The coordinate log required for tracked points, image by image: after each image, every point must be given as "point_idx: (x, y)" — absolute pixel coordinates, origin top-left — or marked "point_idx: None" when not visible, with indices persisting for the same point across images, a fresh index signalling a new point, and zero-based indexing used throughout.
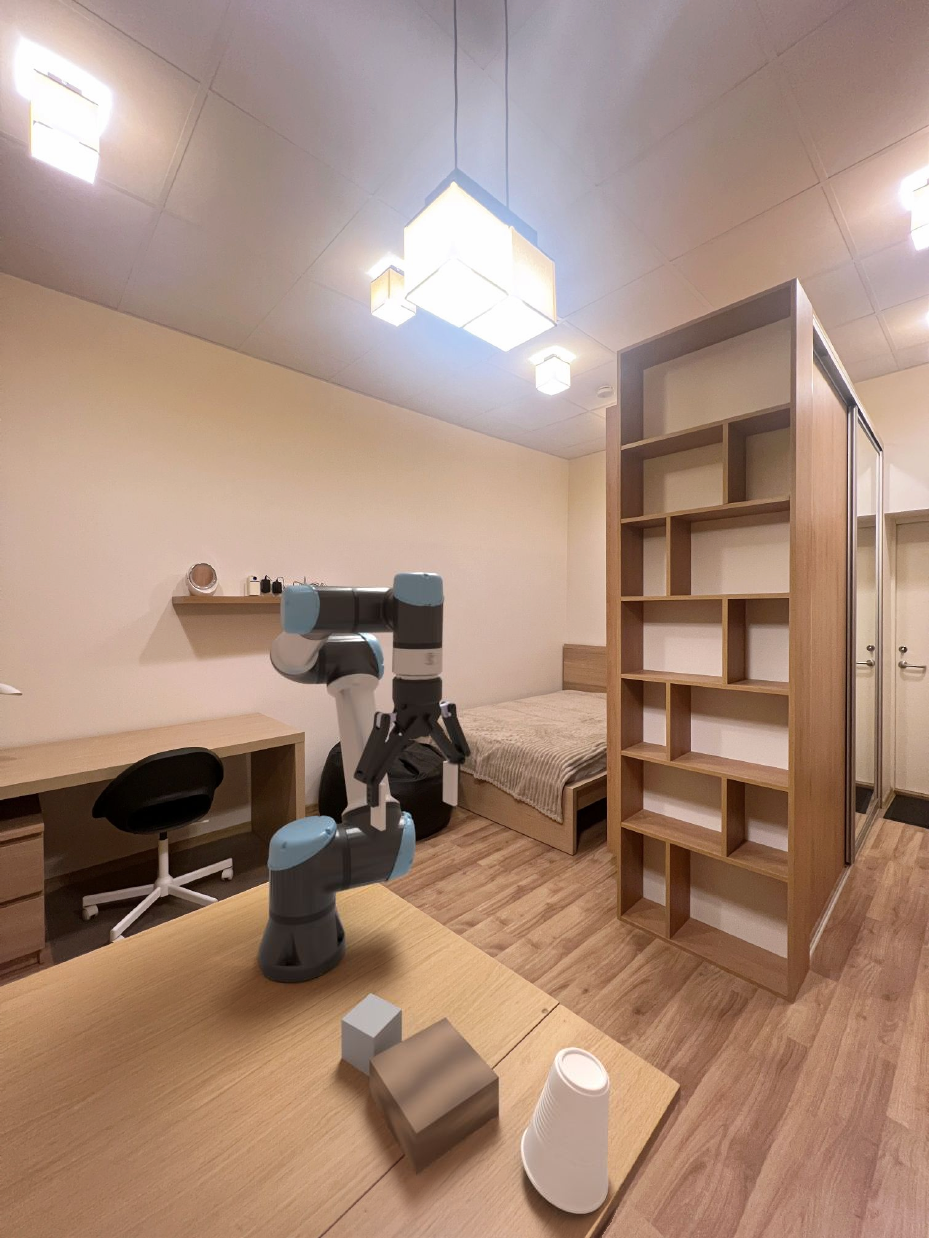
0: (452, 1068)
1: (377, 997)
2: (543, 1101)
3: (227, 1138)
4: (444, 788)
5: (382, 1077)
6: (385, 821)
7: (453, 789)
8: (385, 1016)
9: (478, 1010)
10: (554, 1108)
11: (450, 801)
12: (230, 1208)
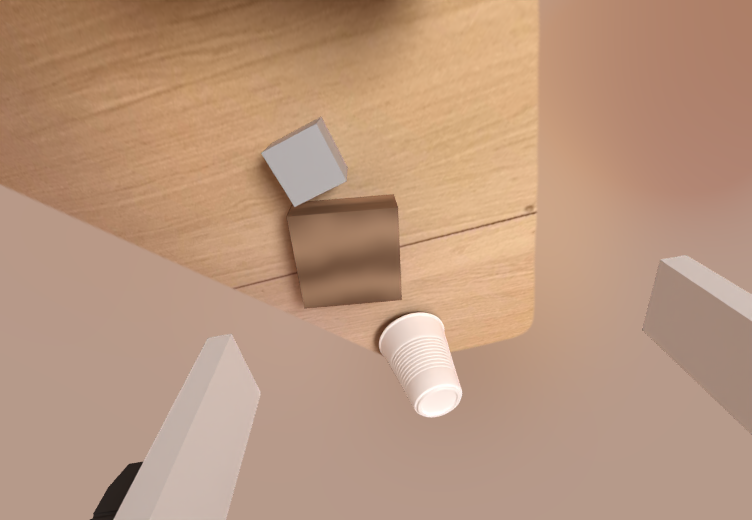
0: (366, 271)
1: (323, 139)
2: (404, 369)
3: (139, 172)
4: (722, 317)
5: (293, 245)
6: (252, 421)
7: (713, 392)
8: (320, 181)
9: (464, 163)
10: (403, 385)
11: (657, 322)
12: (153, 239)
